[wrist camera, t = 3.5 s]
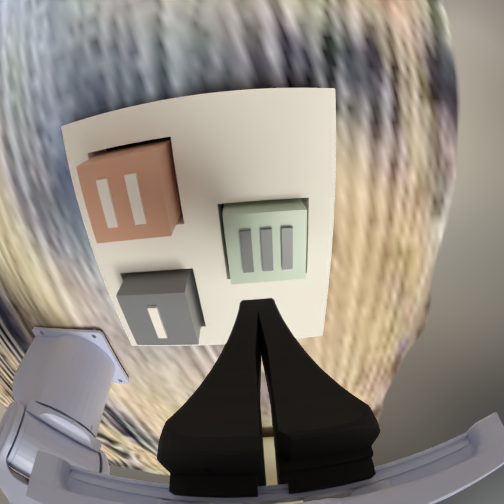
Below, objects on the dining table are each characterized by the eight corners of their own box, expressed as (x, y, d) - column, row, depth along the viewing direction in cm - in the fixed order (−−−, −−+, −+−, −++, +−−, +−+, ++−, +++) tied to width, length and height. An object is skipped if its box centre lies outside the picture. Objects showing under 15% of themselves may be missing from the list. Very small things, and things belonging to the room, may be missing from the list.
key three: (232, 257, 20) (231, 286, 17) (225, 196, 18) (222, 217, 15) (297, 252, 20) (306, 280, 17) (297, 190, 18) (307, 211, 15)
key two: (115, 220, 17) (95, 245, 14) (100, 153, 15) (74, 167, 12) (181, 212, 17) (170, 237, 14) (170, 139, 15) (154, 151, 12)
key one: (146, 316, 21) (136, 347, 18) (129, 268, 19) (114, 297, 16) (202, 314, 21) (198, 346, 18) (191, 263, 19) (184, 294, 16)
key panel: (139, 324, 24) (132, 345, 22) (81, 120, 15) (61, 126, 13) (316, 313, 24) (322, 335, 22) (322, 88, 15) (334, 88, 13)
